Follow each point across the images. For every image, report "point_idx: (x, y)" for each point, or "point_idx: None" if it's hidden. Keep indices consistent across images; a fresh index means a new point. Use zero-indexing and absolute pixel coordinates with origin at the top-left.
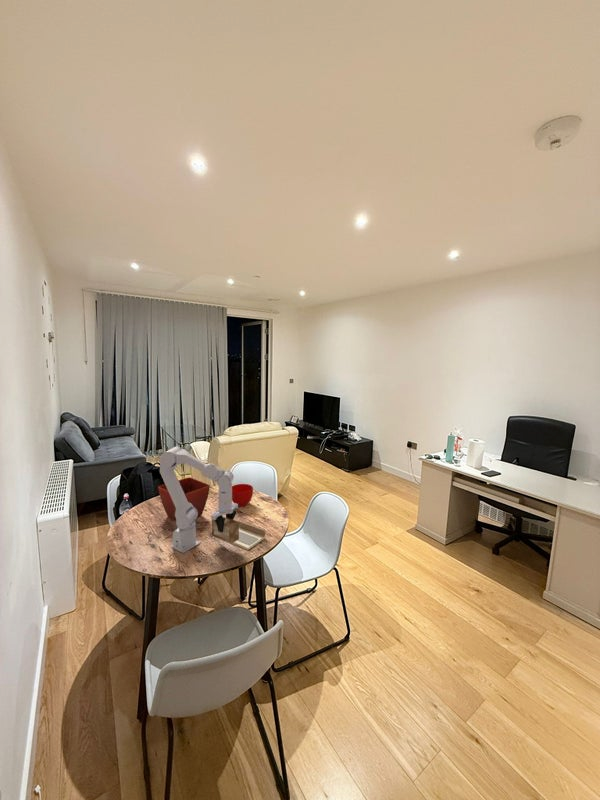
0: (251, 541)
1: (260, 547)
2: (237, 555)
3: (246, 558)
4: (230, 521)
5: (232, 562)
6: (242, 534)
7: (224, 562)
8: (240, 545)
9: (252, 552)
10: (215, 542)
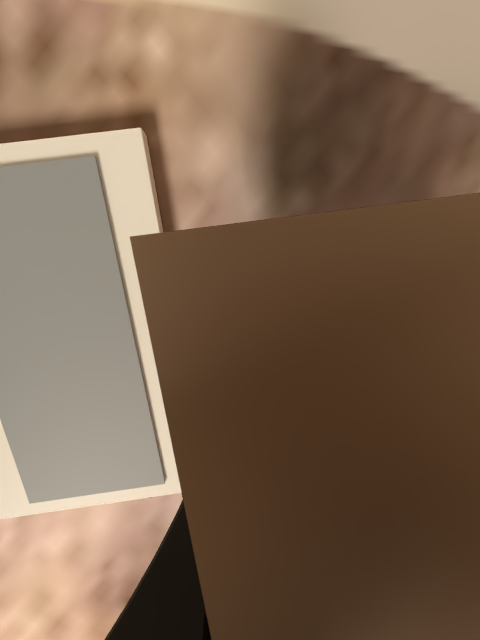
0: (28, 197)
1: (3, 57)
2: (288, 149)
3: (265, 18)
4: (409, 563)
5: (403, 90)
6: (23, 387)
7: (445, 157)
8: None
9: (141, 55)
10: None
